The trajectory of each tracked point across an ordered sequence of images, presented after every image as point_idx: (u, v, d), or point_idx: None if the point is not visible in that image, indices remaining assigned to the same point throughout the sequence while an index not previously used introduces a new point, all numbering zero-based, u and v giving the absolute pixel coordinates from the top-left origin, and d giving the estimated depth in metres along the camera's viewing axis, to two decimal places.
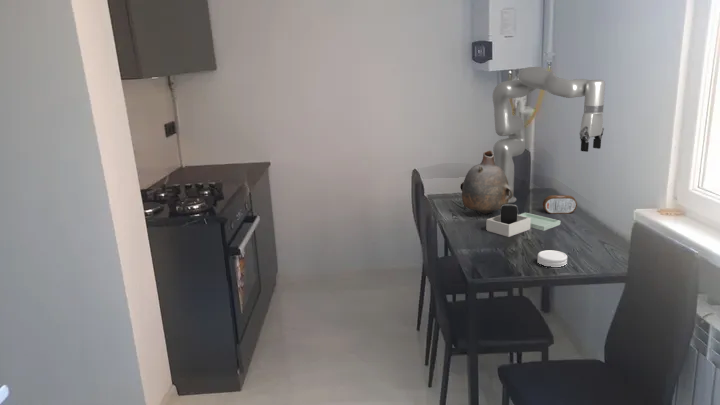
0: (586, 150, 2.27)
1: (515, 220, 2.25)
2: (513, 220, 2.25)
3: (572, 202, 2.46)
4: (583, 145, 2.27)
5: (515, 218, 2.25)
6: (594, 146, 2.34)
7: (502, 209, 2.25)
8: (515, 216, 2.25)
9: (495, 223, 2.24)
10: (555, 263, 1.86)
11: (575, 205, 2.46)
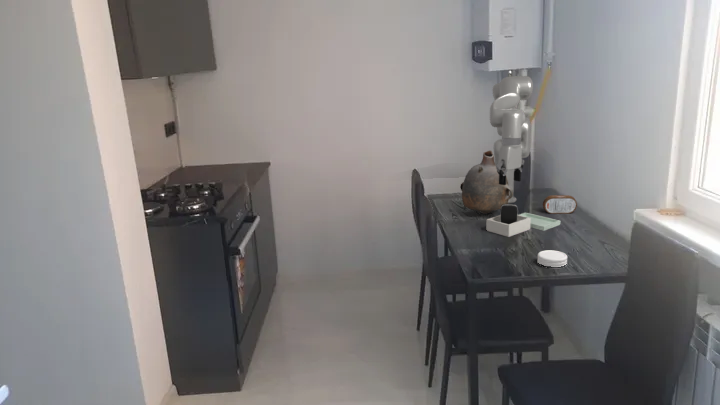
0: (504, 183, 2.19)
1: (515, 220, 2.25)
2: (513, 220, 2.25)
3: (572, 202, 2.46)
4: (501, 178, 2.19)
5: (515, 218, 2.25)
6: (515, 179, 2.26)
7: (502, 209, 2.25)
8: (515, 216, 2.25)
9: (495, 223, 2.24)
10: (555, 263, 1.86)
11: (575, 205, 2.46)
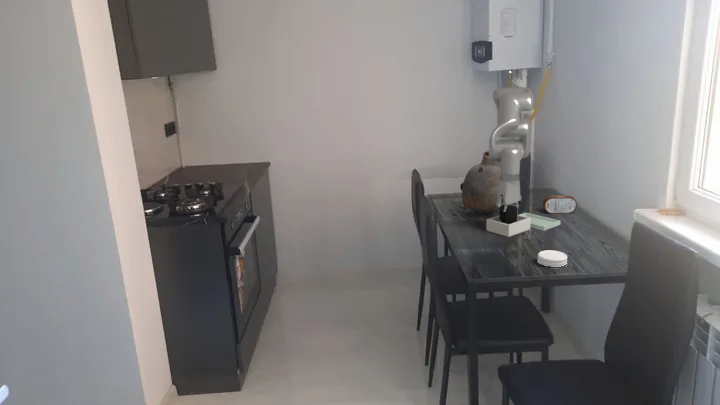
0: (504, 219, 2.24)
1: (515, 220, 2.25)
2: (513, 220, 2.25)
3: (572, 202, 2.46)
4: (501, 214, 2.24)
5: (515, 218, 2.25)
6: None
7: None
8: (515, 216, 2.25)
9: (495, 223, 2.24)
10: (555, 263, 1.86)
11: (575, 205, 2.46)
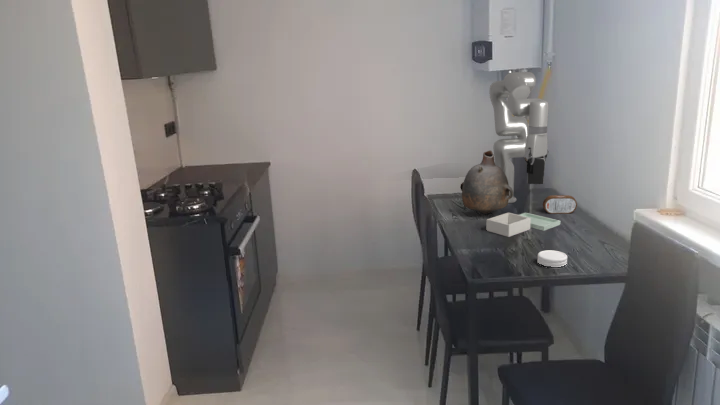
0: (531, 172, 2.27)
1: (542, 173, 2.28)
2: (540, 173, 2.28)
3: (572, 202, 2.46)
4: (528, 167, 2.27)
5: (542, 171, 2.28)
6: None
7: None
8: (542, 169, 2.27)
9: (495, 223, 2.24)
10: (555, 263, 1.86)
11: (575, 205, 2.46)
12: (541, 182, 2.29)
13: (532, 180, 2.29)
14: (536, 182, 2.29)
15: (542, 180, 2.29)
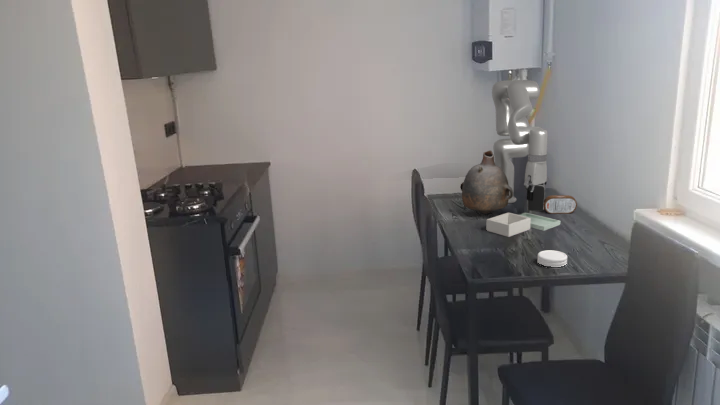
0: (531, 199, 2.30)
1: (542, 200, 2.31)
2: (540, 200, 2.31)
3: (572, 202, 2.46)
4: (528, 194, 2.30)
5: (542, 198, 2.31)
6: None
7: None
8: (542, 196, 2.30)
9: (495, 223, 2.24)
10: (555, 263, 1.86)
11: (575, 205, 2.46)
12: (541, 209, 2.32)
13: (532, 207, 2.32)
14: (536, 209, 2.32)
15: (542, 207, 2.32)
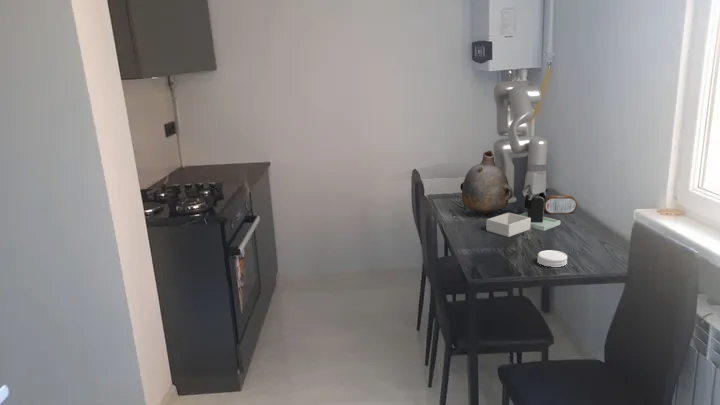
0: (529, 207, 2.30)
1: (542, 212, 2.33)
2: (539, 212, 2.33)
3: (572, 202, 2.46)
4: (526, 202, 2.30)
5: (542, 210, 2.33)
6: None
7: None
8: (542, 208, 2.32)
9: (495, 223, 2.24)
10: (555, 263, 1.86)
11: (575, 205, 2.46)
12: (540, 220, 2.34)
13: (532, 218, 2.34)
14: (536, 220, 2.34)
15: (541, 218, 2.34)
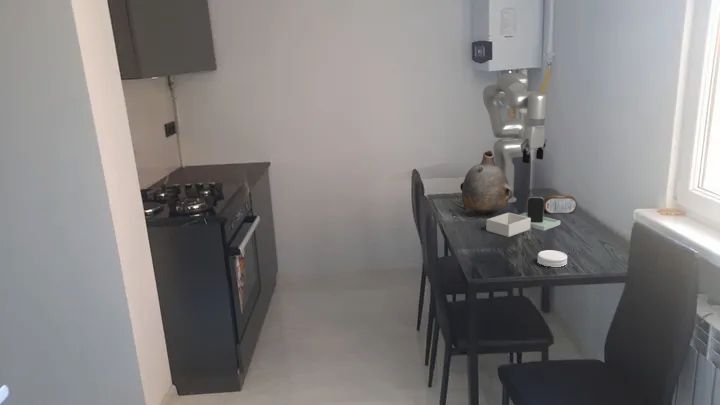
0: (527, 162, 2.34)
1: (542, 212, 2.33)
2: (539, 212, 2.33)
3: (572, 202, 2.46)
4: (524, 157, 2.34)
5: (542, 210, 2.33)
6: (537, 157, 2.41)
7: (529, 201, 2.33)
8: (542, 208, 2.32)
9: (495, 223, 2.24)
10: (555, 263, 1.86)
11: (575, 205, 2.46)
12: (540, 220, 2.34)
13: (532, 218, 2.34)
14: (536, 220, 2.34)
15: (541, 218, 2.34)
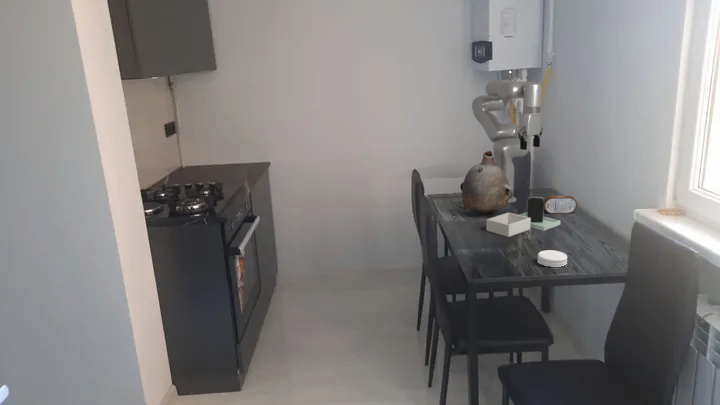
0: (525, 148, 2.42)
1: (542, 212, 2.33)
2: (539, 212, 2.33)
3: (572, 202, 2.46)
4: (522, 144, 2.42)
5: (542, 210, 2.33)
6: (534, 145, 2.49)
7: (529, 201, 2.33)
8: (542, 208, 2.32)
9: (495, 223, 2.24)
10: (555, 263, 1.86)
11: (575, 205, 2.46)
12: (540, 220, 2.34)
13: (532, 218, 2.34)
14: (536, 220, 2.34)
15: (541, 218, 2.34)
